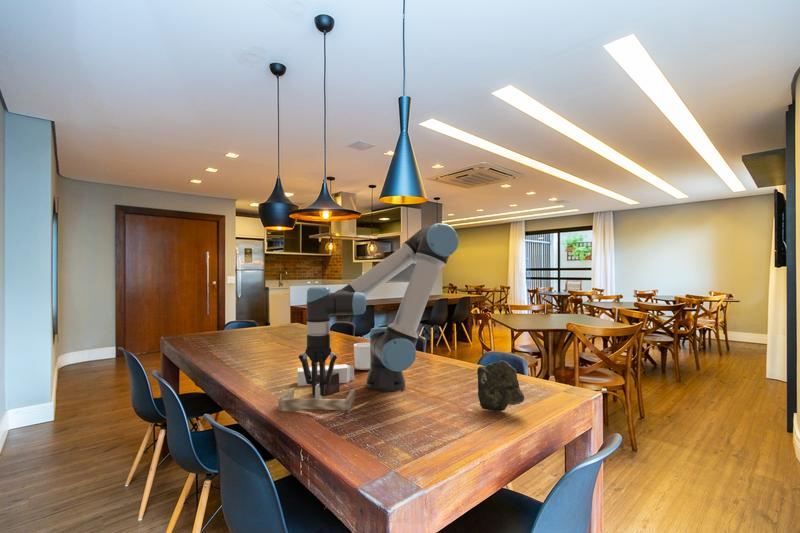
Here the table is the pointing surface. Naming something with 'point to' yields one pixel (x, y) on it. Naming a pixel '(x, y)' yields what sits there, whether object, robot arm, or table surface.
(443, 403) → the table surface
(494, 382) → the stone
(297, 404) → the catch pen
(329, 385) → the box
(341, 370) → the milk
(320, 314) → the robot arm
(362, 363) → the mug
